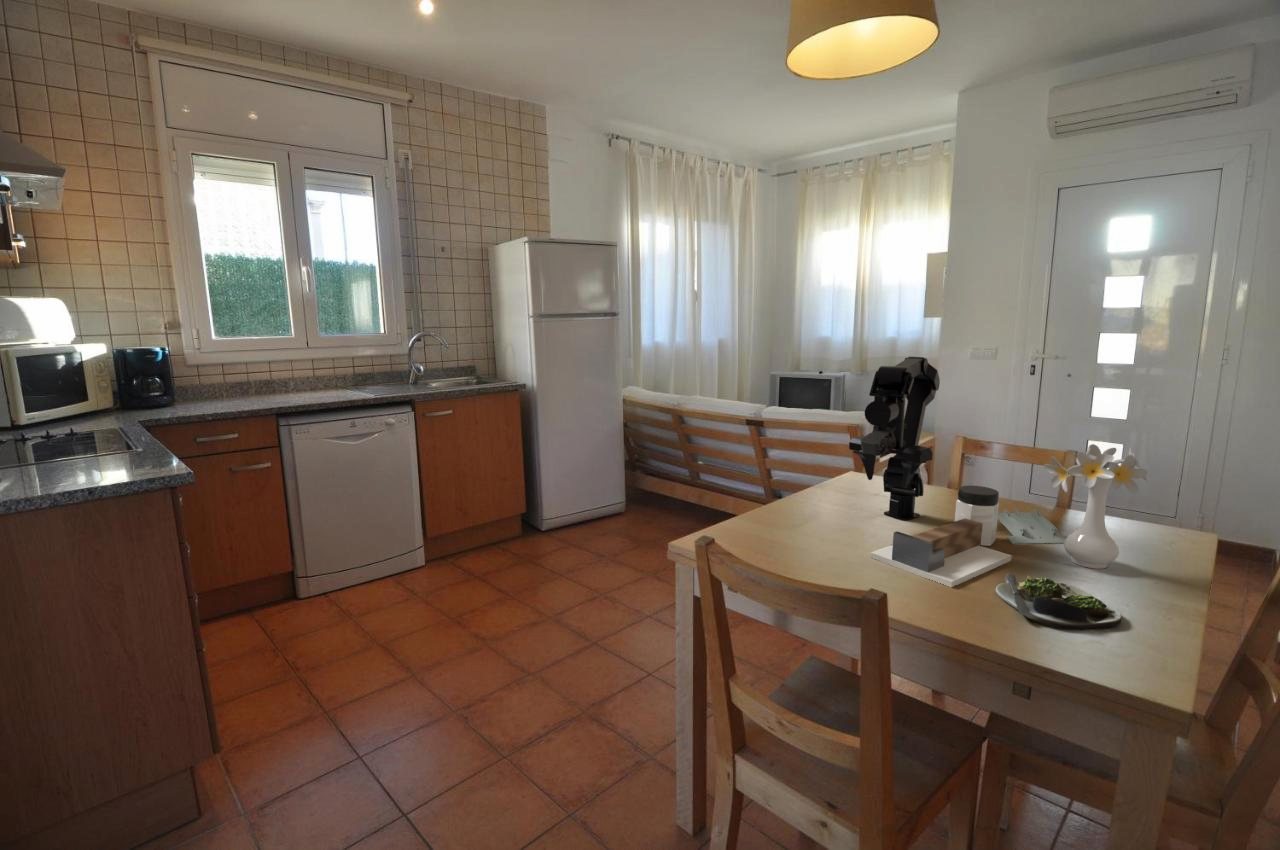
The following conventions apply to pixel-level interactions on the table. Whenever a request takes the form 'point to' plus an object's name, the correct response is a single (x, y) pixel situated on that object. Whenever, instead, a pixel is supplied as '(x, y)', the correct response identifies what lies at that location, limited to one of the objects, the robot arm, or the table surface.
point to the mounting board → (952, 564)
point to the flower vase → (1096, 501)
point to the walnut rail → (954, 536)
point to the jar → (979, 509)
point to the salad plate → (1058, 604)
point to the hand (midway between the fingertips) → (886, 483)
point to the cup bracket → (916, 552)
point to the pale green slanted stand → (1030, 528)
